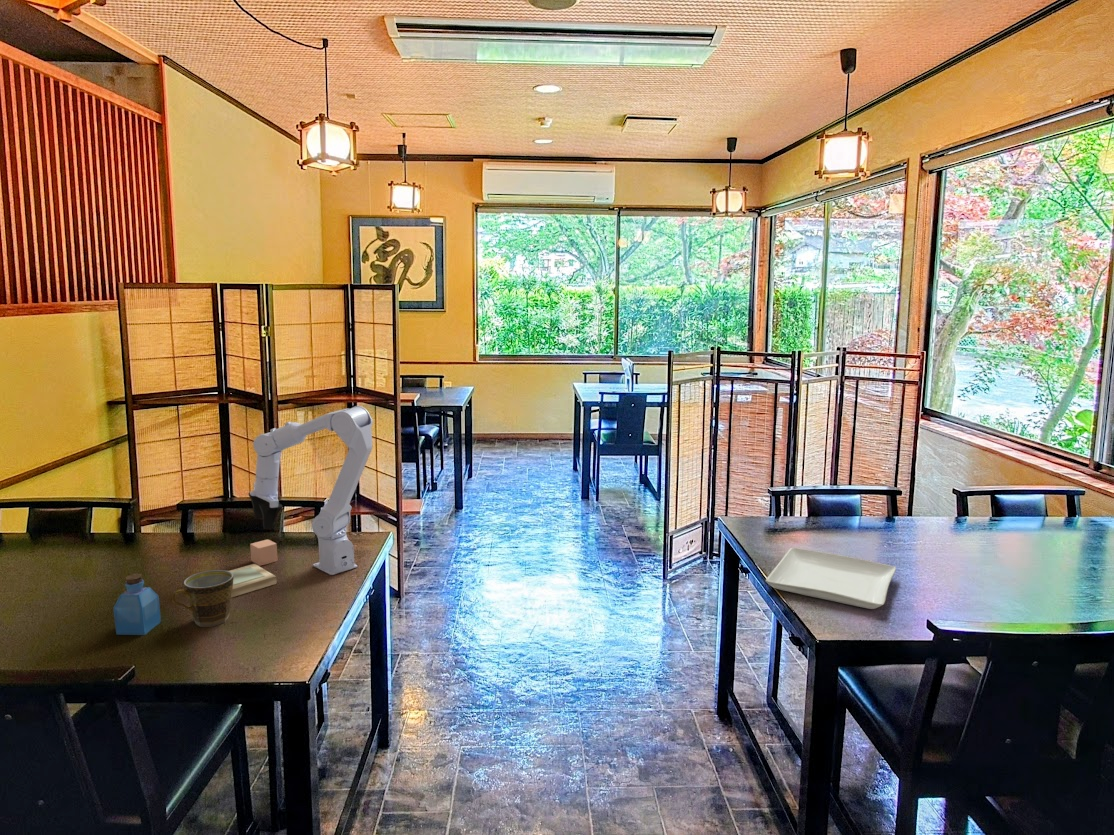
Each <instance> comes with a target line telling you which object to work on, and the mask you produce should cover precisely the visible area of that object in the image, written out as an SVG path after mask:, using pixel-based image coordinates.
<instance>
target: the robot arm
mask: <svg viewBox="0 0 1114 835" xmlns="http://www.w3.org/2000/svg"><path fill="white" fill-rule="evenodd" d="M373 423H374V420H373V418H372V417H371V414H370V412H369V411H368V410H367V408H366V407H363V406H361V405H355V406H352V407H351V408H349V407H348V408H343V409H340V410H339V409H338V410H335V411H331V412H328V413H325V414H323V415H321V416H318V417H316V418H313V419H311V420H308V421H306V422H304V423H302V424H301V423H299V422H296V421H295V422H294V421H293V422H292V421H287V422H285V423H284V425H283V426H281V427H278V428H276V427H274V428H271V429H270V430H269V431H270V432H266V433H260V434H259V435H258V436H256V437H255V438H254V440H253V443H252V444H253V450H254V451H255V453H256V464H255V465H256V467H255V481H254V482H253V490H251V491H249V493H248V496H249V499H250V501H251V504H252V510H253V515H254V519H262V525H263V526H262V527H263V529H264V530H271V529H273V527H274V525H275V522H276V519H277V517H278V515H279V513H280V512H281V510H282V509H283V505H282V504H281V503H280V502H279V501H280V500H279V499H278V498H279V497H278V495H279V490H278V488H279V476H280V465H281V464H280V463H281V457H282V452H283V451H284V450H286V449H290V448H291V447H294V446H296V445H299V444H302V443H303V442H305V440H306V437H307V436H308V435H311V434H314V433H317V432H320V431H322V430H325V429H327V430H328V431H329V432H333V431H334V433H335V434H336V435H337V436H338V438H340V440H341V441H342V442H343V443H344V444H345V445H346V446H347V448H348V451H347V454H346V456H345V459H344V462H343V464H342V466H341V469H340V472H339V474H338V475H337V476H338V477H337V479H336V482H335V483H334V485H333V486H334V487H333V489H332V491H331V494H330V496H329V499H328V501H327V502H326V503H325V504H324V505H323V506H322V508H321V509H320V512H319V514H318V515H316V516H315V517H314V518H313V520H312V522H311V528H312V531H313V533H314V534H315V535H316V537H317V540H318V544H317V545H318V558H319V559H318V560H319V561H317V562H315V563H313V564H312V566H313V567H314V568H316V569H318V570H320V571H322V572H324V573H326V574H328V575H329V576H333V575H337V574H339V573H343V572H346V571H349V570H352V569H355V568H358V565H357V564H356V563H355V554H354V553H355V550H354V544H353V542H352V541H351V540H349V538H348V535H347V527H348V525H349V524H350V522H351V510H352V508H353V507H352V506H351V504H350V503H351V501H352V498H353V496H354V494H355V491H356V489H357V486H358V484H359V482H360V479H361V477H362V475H363V471H364V469H365V468H366V465H367V462H368V460H369V458H370V455H371V452H372V450H373V435H372V434H373V432H372V426H373Z"/></svg>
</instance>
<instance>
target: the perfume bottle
mask: <svg viewBox="0 0 1114 835" xmlns="http://www.w3.org/2000/svg"><path fill="white" fill-rule="evenodd" d="M142 577H143V574H141V573H132V574H130V575H129V574H128V575H127V576H126V577H125V581H126V582H125V583H124V586H125V589H126V590H125V591H123V593H121V594H120V595H119V597H118V598H117V601H116V603H115V604H114V606H113V615H114V616H113V617H114V625H115V632H116V635H120V636H121V635H126V636H127V635H130V636H131V635H133V636H136V635H137V636H145V635H147V634H148V633H149V632H151V630H154V629H155V628H156V627H157V625H160V623H161V622H162V620H161V618H162V617H161V610H160V609H161V608H160V598H159V597H160V596H159V595H158V594H157V593H156V592H155V591H154V590H153V589H152V588H151V587H150V586H145V587H144V585H145V583H144V582H145V581H144V579H143V578H142Z"/></svg>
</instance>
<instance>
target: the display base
mask: <svg viewBox="0 0 1114 835" xmlns="http://www.w3.org/2000/svg"><path fill="white" fill-rule="evenodd" d="M228 571H229V572H231V573H232V574H233V575H234V577H233V589H232V594H231V599H232V598H235V597H237V596H241V595H245V594H247V593H251V592H254V591H258V590H261V589H263V588H266V587H270V586H273V585H276V584H277V582H278V581H277V575H275V574H273V573H272V572H269V571H267V569H264V568H263V567H261V566H259V565H258V564H256V563H252V564H248V565H245V566H241V567H238V568H234V569H231V570H228Z"/></svg>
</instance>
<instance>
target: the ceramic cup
mask: <svg viewBox="0 0 1114 835" xmlns="http://www.w3.org/2000/svg"><path fill="white" fill-rule="evenodd" d="M229 571H230V570H226V569H225V570H224V569H215V570H207V571H201V572H197V573H195V574H192V575H190V576H189V577H187V578H186V579H184V581H183V588H184V589H177V590H176V591H174V592H173V593H172V597H171V601H172V602H173V603H174V604H175V605H179V606H181V607H183V608H185V609H187V610H189V611H191V613H192V615H193V620H194V622H195V625H197V626H199V627H200V628H207V627H208V628H209V627H213V628H214V627H216V626H219V625H222V624H224V623H226V621H227V620H228V619H229V617H230V612H231V601H232V598H231V594H232V589H233V577H234V575H233V574H232V573H231V572H229ZM178 594H184V595H185V596H186V597H187V600H188V602H189V606H187V605H186V604H183V603H181V602H178V601H176V599H175V598H176V596H177V595H178Z"/></svg>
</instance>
